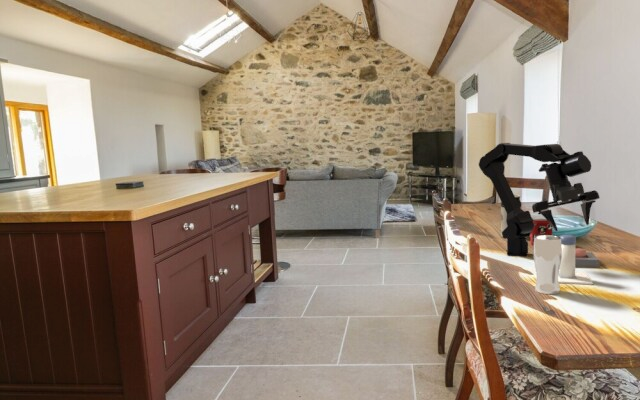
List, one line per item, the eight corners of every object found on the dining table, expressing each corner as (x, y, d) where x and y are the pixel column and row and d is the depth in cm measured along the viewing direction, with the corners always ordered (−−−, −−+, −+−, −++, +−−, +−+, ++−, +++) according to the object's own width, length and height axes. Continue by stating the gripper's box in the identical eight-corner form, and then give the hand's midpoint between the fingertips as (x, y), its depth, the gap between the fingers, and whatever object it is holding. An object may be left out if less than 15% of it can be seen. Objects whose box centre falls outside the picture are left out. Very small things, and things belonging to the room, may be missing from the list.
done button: (571, 259, 146) (571, 251, 145) (569, 256, 150) (569, 247, 149) (587, 260, 144) (587, 251, 144) (584, 257, 148) (584, 248, 148)
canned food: (531, 246, 172) (531, 218, 171) (529, 242, 179) (529, 215, 178) (553, 247, 169) (553, 219, 168) (551, 242, 176) (551, 215, 175)
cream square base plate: (549, 282, 129) (549, 280, 129) (544, 272, 139) (544, 270, 139) (592, 284, 125) (592, 282, 125) (584, 273, 136) (584, 271, 136)
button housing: (563, 266, 144) (563, 258, 144) (558, 258, 153) (558, 251, 153) (599, 267, 141) (599, 259, 140) (591, 259, 150) (591, 252, 150)
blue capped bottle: (558, 277, 132) (558, 237, 130) (560, 273, 135) (560, 234, 134) (574, 278, 129) (575, 238, 128) (576, 274, 133) (576, 235, 131)
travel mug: (522, 235, 192) (522, 194, 190) (519, 239, 185) (519, 196, 183) (503, 234, 196) (502, 194, 194) (499, 238, 189) (499, 196, 187)
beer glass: (550, 296, 118) (550, 241, 116) (527, 289, 124) (527, 237, 122) (567, 291, 121) (567, 237, 119) (544, 285, 127) (544, 233, 125)
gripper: (532, 184, 139) (546, 232, 136) (597, 169, 135) (613, 219, 132) (526, 189, 150) (539, 234, 147) (586, 175, 145) (600, 222, 143)
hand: (572, 227), depth 142 cm, fingers open, 9 cm apart
